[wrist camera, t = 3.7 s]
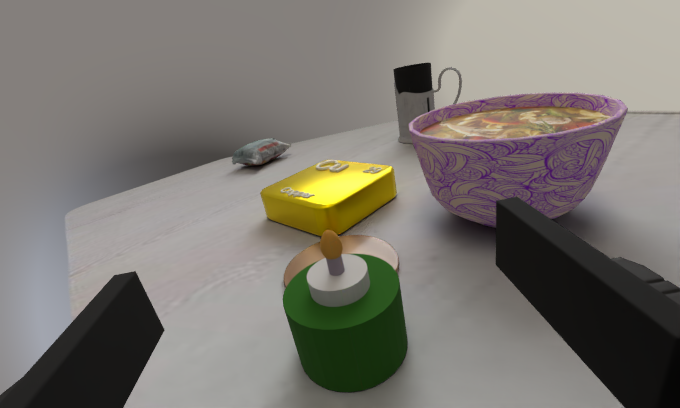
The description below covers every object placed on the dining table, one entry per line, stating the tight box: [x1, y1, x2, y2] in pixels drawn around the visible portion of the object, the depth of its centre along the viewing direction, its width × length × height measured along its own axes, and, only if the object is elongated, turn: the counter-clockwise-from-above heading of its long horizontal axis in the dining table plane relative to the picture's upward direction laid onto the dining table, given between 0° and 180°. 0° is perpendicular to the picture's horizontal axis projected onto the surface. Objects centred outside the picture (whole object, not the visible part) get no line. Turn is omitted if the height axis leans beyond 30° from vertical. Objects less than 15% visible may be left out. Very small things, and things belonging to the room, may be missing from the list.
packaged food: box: [232, 138, 291, 165], centre depth 81 cm, size 9×12×5 cm
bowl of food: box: [409, 93, 628, 227], centre depth 38 cm, size 20×20×12 cm
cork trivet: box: [284, 235, 399, 287], centre depth 36 cm, size 12×12×1 cm
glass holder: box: [394, 63, 462, 143], centre depth 73 cm, size 9×14×15 cm, turn 57°
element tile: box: [260, 160, 397, 236], centre depth 50 cm, size 15×15×5 cm
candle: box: [283, 230, 407, 392], centre depth 25 cm, size 8×8×10 cm
